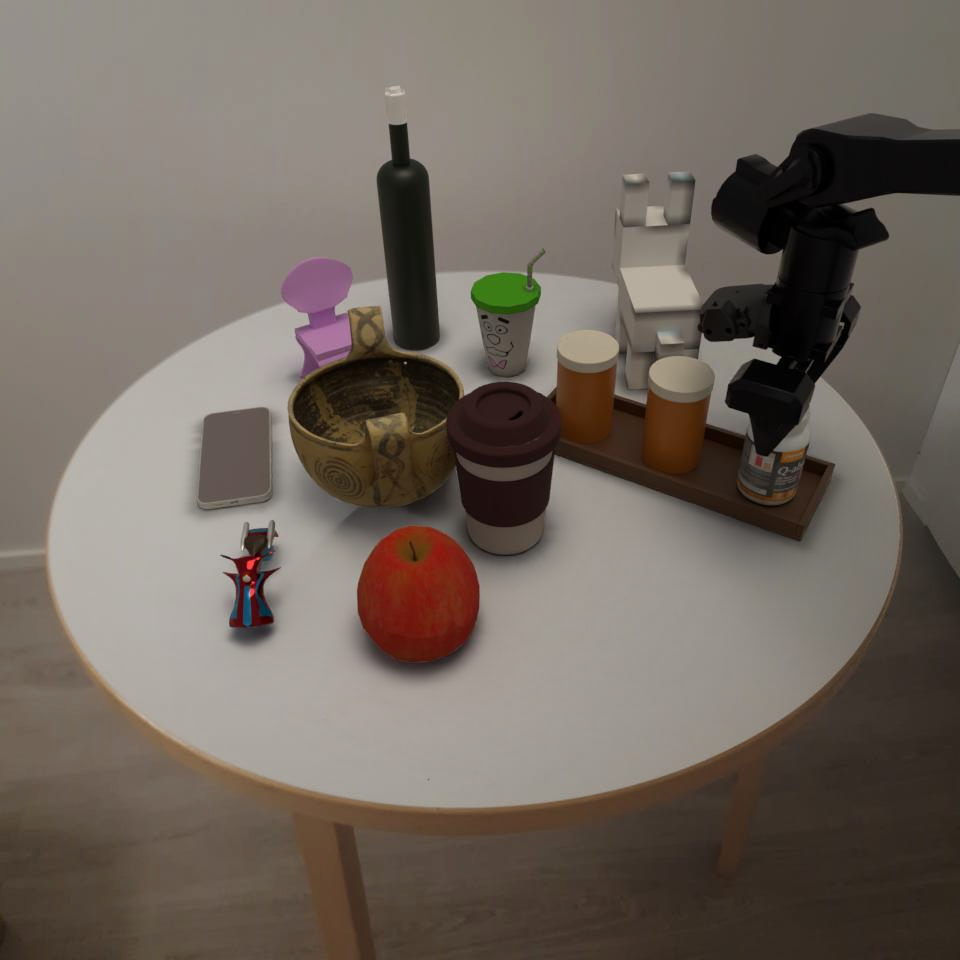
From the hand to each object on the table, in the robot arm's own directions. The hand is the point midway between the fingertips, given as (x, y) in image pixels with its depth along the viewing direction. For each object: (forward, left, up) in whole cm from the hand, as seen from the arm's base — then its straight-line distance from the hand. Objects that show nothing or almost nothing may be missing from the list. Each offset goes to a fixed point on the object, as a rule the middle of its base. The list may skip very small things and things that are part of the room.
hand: (778, 427), depth 85 cm
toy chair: (+48, +7, -8) cm, 49 cm away
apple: (+19, +32, -8) cm, 38 cm away
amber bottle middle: (+10, 0, -8) cm, 12 cm away
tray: (+10, 0, -8) cm, 13 cm away
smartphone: (+49, +23, -8) cm, 55 cm away
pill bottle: (0, 0, -8) cm, 8 cm away
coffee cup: (+19, +18, -8) cm, 27 cm away
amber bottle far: (+20, 0, -8) cm, 21 cm away
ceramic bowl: (+33, +18, -8) cm, 38 cm away
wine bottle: (+46, -6, -8) cm, 47 cm away
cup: (+33, -6, -8) cm, 35 cm away
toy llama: (+19, -16, -8) cm, 27 cm away
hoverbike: (+34, +36, -8) cm, 50 cm away
